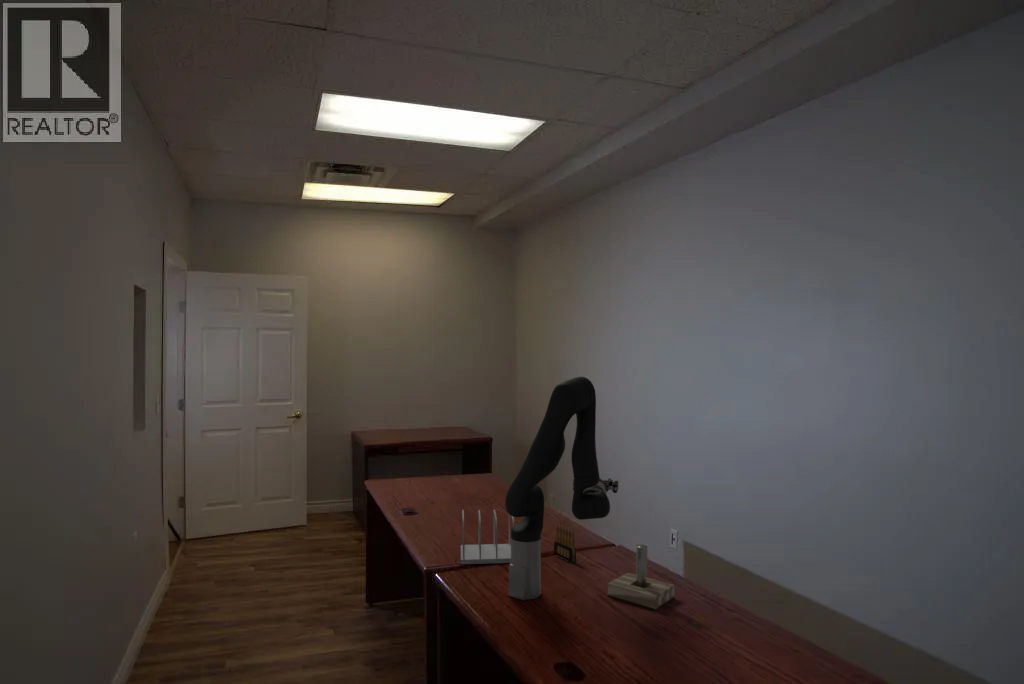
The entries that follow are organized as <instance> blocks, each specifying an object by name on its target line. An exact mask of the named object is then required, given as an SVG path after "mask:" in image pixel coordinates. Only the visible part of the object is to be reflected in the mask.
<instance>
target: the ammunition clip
mask: <svg viewBox="0 0 1024 684" xmlns="http://www.w3.org/2000/svg"><path fill="white" fill-rule="evenodd" d="M575 539H576V538H575V531H574V527H572V528H571V527H570V526H569V527H568V525H566V526H565V525H564V524H562V523H561V522H560V523H559V522H558V521H556V524H555V535H554V542H553V555H554V556H555V555H558V556H560V557H562V558H564V559H566V560H568V561H569V562H568V561H567V562H568V563H570V562H572V563H571V564H574V563H573V562H576V563H577V552H576V551H577V548H576V542H575V541H576V540H575ZM564 559H563V560H564ZM566 560H565V561H566Z"/></svg>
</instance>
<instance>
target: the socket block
mask: <svg viewBox="0 0 1024 684" xmlns="http://www.w3.org/2000/svg"><path fill="white" fill-rule="evenodd" d="M607 597H608V598H612V599H615V600H618V601H622V602H626V603H628V602H629V603H630V604H632V603H633V604H632V605H635V604H636V605H635V606H639V607H642V606H643V608H645V607H646V609H649V608H650V610H652V609H653V611H657V610H659V609H660V608H662V607H664V604H665V605H666V604H668V603H670V602H671V601H672V600H674V599H675V584H672V583H668V582H664V581H662V580H661V581H660V580H658V579H654V578H649V577H647V587H646V588H641V587H637V586H636V573H635V574H634V573H631V572H627V573H624V574H622V575H621V576H619V577H617V578H615V579H613V580H611V581H609V582H607ZM673 598H674V599H673ZM670 600H671V601H670ZM667 602H668V603H667ZM629 603H628V604H629ZM661 606H662V607H661ZM658 608H659V609H658Z"/></svg>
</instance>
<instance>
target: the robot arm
mask: <svg viewBox="0 0 1024 684" xmlns="http://www.w3.org/2000/svg"><path fill="white" fill-rule="evenodd" d="M596 396H597V394H596V389H595V386H594V384H593V382H592V381H591V380H590V379H589V378H587V377H585V376H576V377H573V378H570V379H566V380H564V381H560V383H558V384H556V386H555V387H554V389H553V391H552V392H551V396H550V398H549V400H548V405H547V408H546V412H545V413H544V414H545V415H544V417H543V420H542V421H541V424H540V425H539V428H538V431H537V433H536V434H535V437H534V439H533V441H532V443H531V445H530V448H529V451H528V452H527V455H526V458H525V459H524V462H523V463H522V466H521V467H520V470H519V471H518V473H517V474H516V476H515V478H514V480H513V481H512V483H511V484H510V487H509V488H508V490H507V493H506V494H505V495H506V496H505V500H504V502H505V503H504V505H505V506H504V507H505V510H506V512H507V515H508V514H509V515H510V517H511V516H513V517H514V518H522V517H523V518H522V520H521V521H520V522H518V523H517V524H514V527H513V526H512V528H511V529H510V544H511V563H508V596H510V597H512V598H515V599H518V600H521V601H526V599H527V600H534V599H537V598H539V597H540V596H541V592H542V589H541V588H542V587H541V584H542V580H541V579H542V574H541V572H542V571H541V570H542V566H541V565H542V533H543V529H544V517H545V516H544V514H545V497H544V493H543V489H542V488H541V486H539V485H538V484H539V483H540V482H542V481H543V480H544V479H546V478H547V477H548V476H549V475H550V474H551V473H552V472H553V471H555V469H556V467H558V465H559V464H560V461H561V458H562V456H563V455H564V452H565V449H566V439H565V431H566V429H567V426H568V424H569V422H570V420H571V419H572V417H574V415H575V416H576V428H575V429H576V430H575V435H574V440H573V444H572V448H571V466H572V467H571V468H572V472H573V473H572V474H573V482H572V491H573V494H572V502H571V512H572V514H573V516H574V518H575V519H577V520H579V521H580V520H582V521H583V520H593V519H595V520H596V519H604V518H606V517H607V516H608V515H609V513H610V512H611V504H610V499H609V497H608V495H607V493H608V492H609V491H611V492H612V493H614V494H616V493H618V491H619V481H618V480H615V481H614V480H613V479H612V478H608V479H602V478H600V472H599V465H598V458H597V457H598V456H597V446H596V424H597V422H596V420H597V418H596V415H597V411H596V410H597V397H596ZM524 516H525V517H524Z"/></svg>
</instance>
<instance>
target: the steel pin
mask: <svg viewBox="0 0 1024 684" xmlns="http://www.w3.org/2000/svg"><path fill="white" fill-rule="evenodd" d="M635 555H636V556H635V557H636V558H635V559H636V560H635V563H636V564H635V575H636V586H637V587H641V588H646V587H647V578H648V545H645V544H636V553H635Z"/></svg>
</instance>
